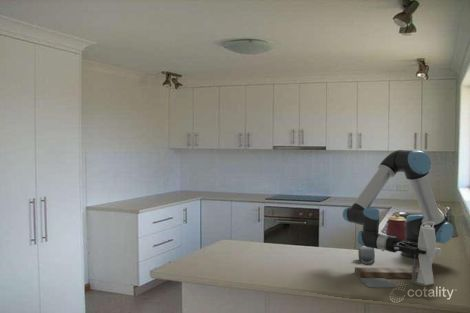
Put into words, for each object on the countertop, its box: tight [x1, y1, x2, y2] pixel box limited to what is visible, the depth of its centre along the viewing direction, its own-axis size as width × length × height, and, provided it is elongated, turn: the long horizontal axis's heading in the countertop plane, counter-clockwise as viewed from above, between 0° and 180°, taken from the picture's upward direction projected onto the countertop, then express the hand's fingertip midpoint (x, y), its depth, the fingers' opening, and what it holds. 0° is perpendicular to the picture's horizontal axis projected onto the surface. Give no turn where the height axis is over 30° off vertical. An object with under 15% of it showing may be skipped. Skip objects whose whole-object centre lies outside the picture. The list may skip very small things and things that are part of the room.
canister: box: [385, 213, 406, 242], centre depth 296 cm, size 13×13×18 cm
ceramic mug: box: [357, 246, 376, 265], centre depth 241 cm, size 11×8×8 cm
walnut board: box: [354, 267, 419, 279], centre depth 217 cm, size 32×8×3 cm, turn 94°
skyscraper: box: [410, 222, 437, 287], centre depth 205 cm, size 8×8×28 cm
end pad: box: [358, 277, 396, 288], centre depth 204 cm, size 12×12×1 cm
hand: (437, 252), depth 202 cm, fingers closed on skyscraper, 6 cm apart
